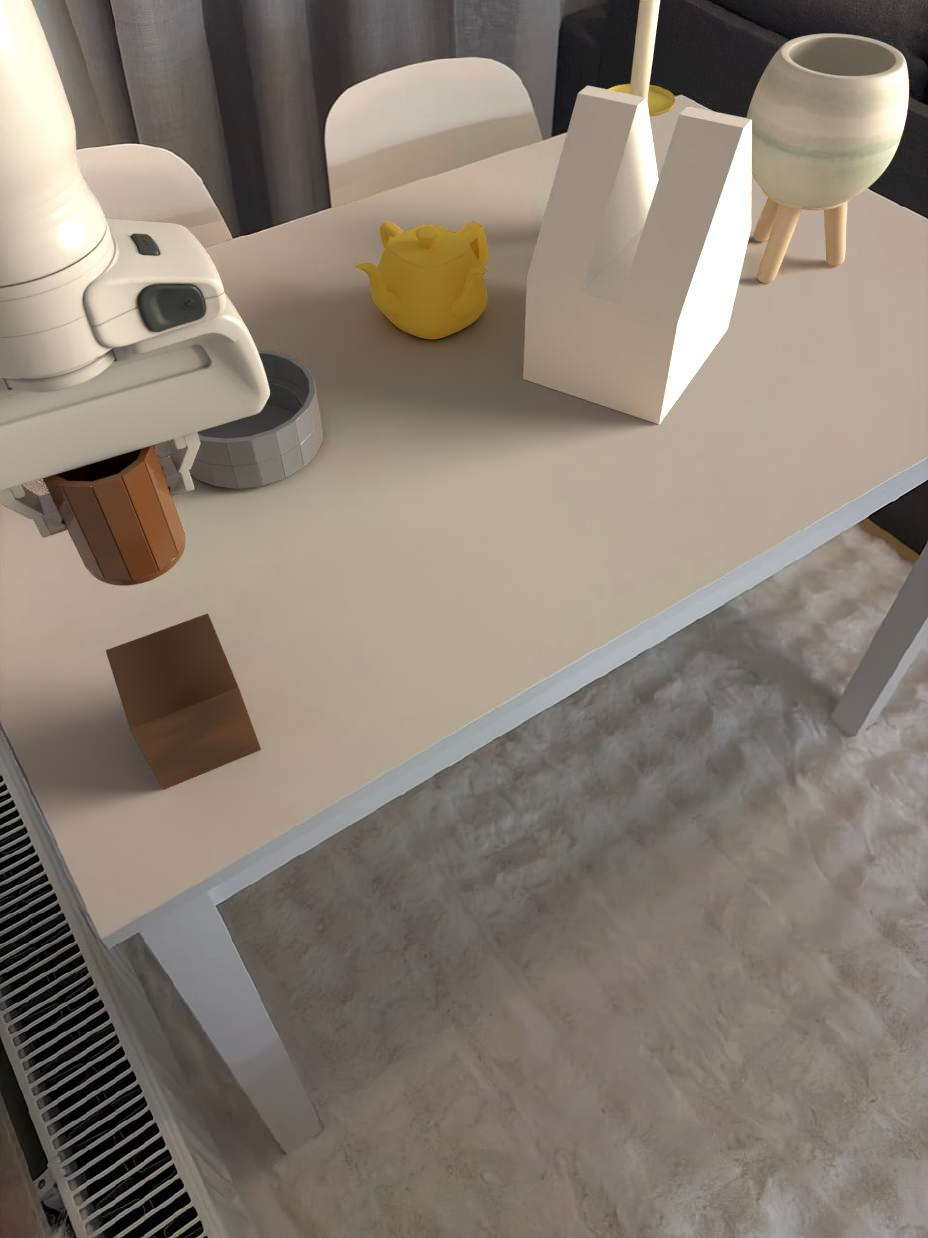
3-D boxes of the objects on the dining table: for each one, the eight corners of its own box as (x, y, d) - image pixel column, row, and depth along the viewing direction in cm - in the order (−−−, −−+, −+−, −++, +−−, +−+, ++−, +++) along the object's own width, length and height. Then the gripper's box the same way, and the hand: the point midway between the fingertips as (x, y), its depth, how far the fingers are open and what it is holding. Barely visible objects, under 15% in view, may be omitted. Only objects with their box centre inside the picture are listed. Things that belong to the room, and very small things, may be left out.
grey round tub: (201, 510, 84) (185, 460, 80) (162, 424, 93) (145, 374, 88) (345, 463, 88) (337, 413, 84) (295, 384, 96) (285, 334, 92)
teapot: (363, 346, 100) (353, 262, 93) (382, 281, 109) (374, 198, 101) (488, 352, 99) (488, 267, 92) (497, 285, 108) (498, 202, 100)
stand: (163, 790, 66) (129, 729, 60) (138, 713, 70) (105, 650, 64) (261, 749, 68) (238, 687, 62) (231, 677, 72) (208, 612, 66)
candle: (677, 225, 116) (730, -91, 91) (633, 257, 111) (676, -67, 86) (612, 201, 120) (645, -106, 95) (567, 231, 116) (589, -85, 91)
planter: (732, 219, 117) (774, 19, 100) (863, 240, 113) (930, 35, 96) (705, 283, 107) (747, 74, 90) (847, 308, 103) (919, 95, 86)
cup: (96, 599, 55) (48, 500, 49) (75, 534, 58) (28, 434, 52) (197, 564, 56) (163, 465, 50) (171, 503, 60) (136, 403, 54)
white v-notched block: (659, 424, 91) (705, 169, 72) (523, 378, 96) (532, 129, 77) (727, 328, 101) (784, 83, 82) (601, 291, 107) (627, 53, 87)
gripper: (-204, 392, 39) (-58, 602, 50) (253, 275, 45) (296, 486, 56) (-207, 319, 43) (-71, 529, 54) (215, 219, 49) (263, 427, 59)
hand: (119, 506), depth 55 cm, fingers closed on cup, 6 cm apart
